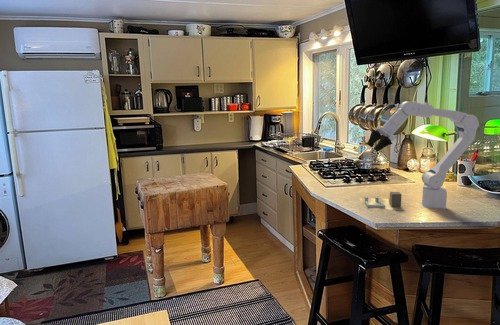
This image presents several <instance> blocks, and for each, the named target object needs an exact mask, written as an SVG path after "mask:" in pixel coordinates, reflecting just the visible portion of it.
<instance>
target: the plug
mask: <svg viewBox="0 0 500 325" xmlns="http://www.w3.org/2000/svg"><path fill="white" fill-rule="evenodd" d="M402 195H403V194H402V193H401V192H400V191H390V192H389V196H388V197H387V199H388V200H389V201H390V202H389V205H390V206H391V207H402Z"/></svg>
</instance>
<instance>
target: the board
mask: <svg viewBox="0 0 500 325" xmlns="http://www.w3.org/2000/svg"><path fill="white" fill-rule="evenodd" d="M358 199H359V201H360V203H361V204H362V206H363V208H364V209H365V210H384V211H385V210H388V211H389V210H392V211H394V210H395V211H405V208H403V206H401V207H391V206H390V205H389V202H390V201H389V200H388V198H379V202H376V201H375V198H373V197H372V198H369V197H368V203H369V205H380V201H382V202H383V203H384V205H385V208H367V206H366V205H365V197H362V198H361V197H360V198H358Z"/></svg>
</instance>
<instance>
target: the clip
mask: <svg viewBox="0 0 500 325" xmlns="http://www.w3.org/2000/svg"><path fill="white" fill-rule="evenodd" d="M364 198H365V201H367V202H368V198H369V196H367V195H366V196H364ZM374 199H375V201H376V202H379V199H380V198H379V197H378V196H374Z"/></svg>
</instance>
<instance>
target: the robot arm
mask: <svg viewBox="0 0 500 325" xmlns="http://www.w3.org/2000/svg"><path fill="white" fill-rule="evenodd" d="M410 116H414V117H419V118H420V117H421V118H426V119H429V118H430V117H433V116H434V117H435V116H436V117H441V118H447V119H449V120H450V121H451V122H453V125H454V127H455V128H456V130H457V132H458V138H457V139H456V140H455V142H454V143H453V144H452V145H451V146H450V148H449V149H448V150H447V151H446V153H445V154H444V155H443V156H442V157H441V158H440V160H438V162H437V163H436V164H435V165H433V166H432V167H430V168H429V169H428V170H426V171H425V172H423V173H422V175H421V181H422V182H423V186H422V195H421V196H422V198H421V202H419V203H418V204H419V205H421V207H423V208H425V209H444V210H447V197H448V195H447V189H446V188H445V187H443V185H444V182H445V180H446V179H447V176H448V174H447V173H448V172H449V170H451V168H452V167H453V165H455V163H456V162H457V161H458V160H459V158H461V156H462V155H463V154H464V152H466V150H467V149H468V148H469V147H470V146H471V145H472V143H473V142H474V140H475V139H476V138H475V137H476V134H477V130H478V128H479V127H480V122H479V118H478V117H477V116H476V115H475V114H468V113H466V112H462V111H458V110H451V109H441V108H434V106H433V105H432V104H430V102H425V103H422V102H418V101H415V100H414V101H403V102H401V103H400V104H399V105H398V109H397V110H396V111H395V112H394V113H393V114H392V115H391V116H390V117H389V119H387V121H386V122H385V123H384V124H383V125H382V126H381V125H379V126H377V127H376V128H375V129H372V130H371V134H370V137H369V138H368V140H367V142H366V145H368V146H369V148H370V147H372V146H373V145H374V144H375V143H377V144H376V145H375V147H374V148H373V150H374V151H375V152H377V153H378V152H380V151H381V150H382V149H384V148H386V147H388V146H390V145H393V141H395V139H396V136H394V134H395V133H396V132H397V131H398V130H399V128H401V126H402V125H403V124H404V122H406V120H407V119H408V118H409V117H410ZM377 141H378V142H377Z"/></svg>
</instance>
